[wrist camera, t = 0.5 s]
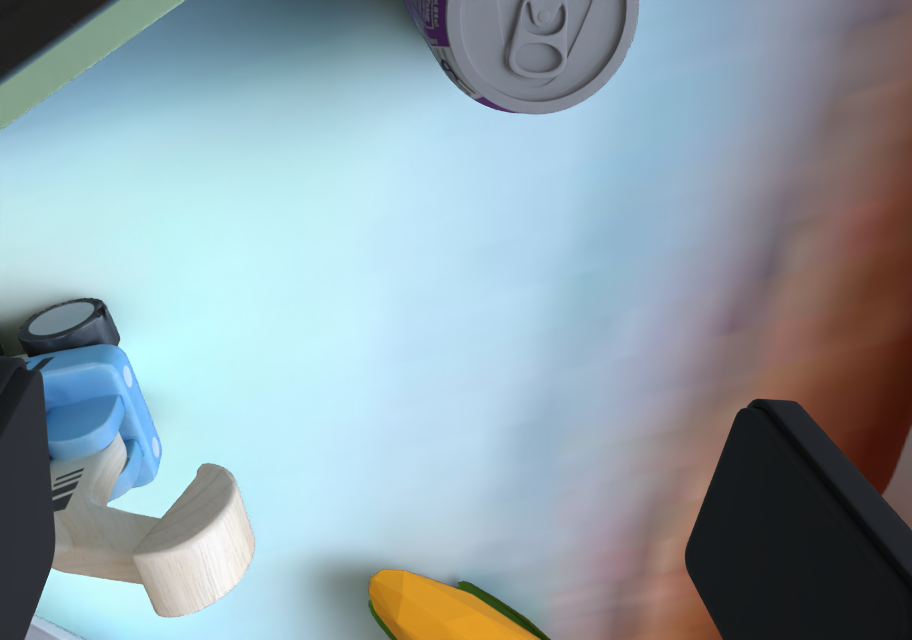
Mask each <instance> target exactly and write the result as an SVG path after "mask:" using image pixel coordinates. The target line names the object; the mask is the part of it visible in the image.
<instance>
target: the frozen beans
mask: <svg viewBox="0 0 912 640" xmlns="http://www.w3.org/2000/svg"><path fill="white" fill-rule="evenodd" d="M25 640H85V639H83V638H82V637H80V636H78V635H76V634H74V633H72V632H70V631H68V630H66V629H64V628H62V627H59V626H57V625H55V624H53V623H51V622H49V621H46V620H43V619H42V618H40V617H38V616H36V615H34V616H33V618H32V621H31V624H30V626H29V629H28V632H27V634H26V637H25Z"/></svg>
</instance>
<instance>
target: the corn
mask: <svg viewBox="0 0 912 640" xmlns="http://www.w3.org/2000/svg"><path fill="white" fill-rule="evenodd" d="M368 592H369V595H370V598H371V599H370V600H369V608H370V611H371V613H372V615H373V616H374V618H375V619H376V621H377V622H378V624H379V625H380V627H381V628H382V629H383V630H384V631H385V632H386V634H387V635H388V636H389V637H390V638H391V639H392V640H550V639H549V638H548V637H547V636H546V635H545V634H544V633H543V632H541V631H540V630H539V629H538V628H537V627H536V626H535V625H534V624H532V623H531V622H530V621H529V620H528V619H527V618H525V617H524V616H522V615H521V614H519V613H518V612H516V611H515V610H513V609H512V608H510V607H509V606H507V605H506V604H504V603H503V602H501V601H500V600H498V599H497V598H495V597H493V596H492V595H490V594H488V593H487V592H485V591H483V590H481V589H480V588H478V587H476V586H475V585H473V584H471V583H468V582H465V581H462V582H459V583H458V589H457V588H454V587H451V586H448V585H446V584H443V583H440V582H438V581H435V580H432V579H429V578H426V577H423V576H420V575H416V574H413V573H410V572H407V571H404V570H381V571H379V572H378V573H376V574H374V575H373V576H371V577H370V582H369V589H368Z"/></svg>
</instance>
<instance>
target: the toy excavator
mask: <svg viewBox="0 0 912 640" xmlns="http://www.w3.org/2000/svg"><path fill="white" fill-rule="evenodd" d="M20 329H21V330H20V332H19V334H18V339H19V341H20V342H21V344H22V346H23V348H24V350H25V352H26V354H22V355H17V356H12V357H21V358H23V359H24V360H25V363H26V365H27V370H39V371H40V372H41V373H42V376H43V383H44V396H45V409H46V421H47V434H48V447H49V459H50V472H51V485H52V497H53V510H54V523H55V536H56V543H55V553H54V558H53V563H52V566H51V568H53V569H55V570H58V571H61V572H64V573H71V574H78V575H85V576H91V577H97V578H103V579H110V580H116V581H123V582H130V583H137V584H143V585H144V587H145V589H146V592H147V594H148V596H149V598H150V600H151V603H152V605H153V608H154V610H155V612H156V614H157V615H159V616H161V617H179V616H184V615H189V614H191V613H194V612H197V611H200V610H202V609H203V608H205V607H207V606H209V605H211V604H213V603H215V602H216V601H218V600H219V599H220V598H222V597H223V596H225V595H226V594H227V593H228V592H229V591H230V590H231V589H232V588H234V587H235V586H236V584H237V583H238V582H239V581H240V580H241V579H242V577H243V576H244V574H245V572H246V571H247V569H248V567H249V565H250V563H251V560H252V558H253V554H254V550H255V537H254V533H253V530H252V527H251V524H250V521H249V518H248V515H247V512H246V509H245V506H244V503H243V500H242V497H241V494H240V491H239V488H238V485H237V482H236V480H235V478H234V476H233V475H232V473H231V472H229V471H228V470H227V469H225V468H224V467H221V466H219V465H216V464H210V463H207V464H202V465H201V466H200V467H199V469H198V470H197V476H196V478H195V479H194V480H193V481H192V483H191V484H190V485H189V486H188V488H187V489H186V490H185V491H184V492H183V494H182V495H181V496H180V497H179V498H178V500H177V501H176V502H175V503H174V504H173V505H172V507H171V508H170V509H169V510H168V511H167V512H166V514H165V515H164V516H163V517H162V518H161V519H159V518H154V517H150V516H145V515H139V514H134V513H129V512H125V511H122V510H118V509H115V508H110V507H106V506H107V503H108V502H110V501H112V500H114V499H116V498H119V497H120V496H122V495H123V494H125V493H126V492H127V491H129V490H130V489H131V488H136V487H140V486H144V485H147V484H148V483H150V482H152V481H153V480H154V478H155V477H156V475H157V471H158V467H159V463H160V459H161V454H162V447H161V443H160V440H159V437H158V434H157V432H156V429H155V427H154V424H153V421H152V419H151V416H150V414H149V411H148V408H147V406H146V403H145V400H144V398H143V395H142V393H141V390H140V387H139V385H138V382H137V380H136V377H135V374H134V372H133V369H132V367H131V364H130V362H129V360H128V357H127V355H126V353H125V352H124V351H123V350H122V349H120V348H119V347H118V343H119V341H120V336H119V333H118V331H117V329H116V327H115V324H114V322H113V319H112V317H111V315H110V313H109V311H108V309H107V306H106V305H105V304H104V303H103V301H101V300H99V299H93V298H89V299H88V298H84V299H82V298H81V299H78V300H72V301H68V302H66V303H62V305H54V306H52V307H50V308H49V309H46V310H45V311H42V312H40V313H39V314H35V315H33V316H32V317H31V318H30V319H29V320H27V321H26V323H24V324H23V325H22V326H21V328H20ZM0 356H4V351H3V349H2V347H1V345H0Z"/></svg>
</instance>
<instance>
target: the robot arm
mask: <svg viewBox="0 0 912 640" xmlns="http://www.w3.org/2000/svg"><path fill="white" fill-rule="evenodd" d="M55 543H56V536H55V523H54V510H53V497H52V485H51V472H50V459H49V447H48V434H47V421H46V409H45V396H44V383H43V376H42V373H41V372H40V371H39V370H27V365H26V363H25V360H24V359H23V358H21V357H4V356H0V640H25V637H26V634H27V632H28V629H29V626H30V624H31V621H32V618H33V616H34V613H35V610H36V607H37V605H38V602H39V599H40V597H41V594H42V591H43V588H44V586H45V583H46V580H47V578H48V575H49V572H50V570H51V566H52V563H53V558H54V553H55ZM685 563H686V568H687V571H688V573H689V576H690V577H691V579H692V581H693V583H694V585H695V587H696V589H697V591H698V593H699V595H700V597H701V598H702V600H703V602H704V604H705V606H706V608H707V610H708V612H709V614H710V616H711V618H712V619H713V621H714V623H715V625H716V627H717V629H718V631H719V633H720V635H721V637H722V639H723V640H912V530H911V529H910V528H909V527H908V525H907V524H906V523H905V522H904V521H903V520H902V519H901V518H900V517H899V516H898V514H897V513H896V512H895V511H894V510H893V509H892V507H891V506H890V505H889V504H888V503H887V502H886V501H885V500H884V499H883V497H882V496H881V495H880V494H879V493H878V492H877V491H876V490H875V488H874V487H873V486H872V485H871V484H870V483H869V482H868V481H867V479H866V478H865V477H864V476H863V475H862V474H861V473H860V472H859V470H858V469H857V468H856V467H855V466H854V465H853V464H852V463H851V461H850V460H849V459H848V458H847V457H846V456H845V455H844V454H843V452H842V451H841V450H840V449H839V448H838V447H837V446H836V445H835V443H834V442H833V441H832V440H831V439H830V438H829V437H828V436H827V434H826V433H825V432H824V431H823V430H822V429H821V428H820V427H819V425H818V424H817V423H816V422H815V421H814V420H813V419H812V418H811V417H810V415H809V414H808V413H807V412H806V411H805V410H804V409H803V408H802V406H801V405H799V404H798V403H797V402H794V401H787V400H769V399H756V400H753V401H752V402H751V403H750V404H749V405H748V406H747V408H743V409H741V410H740V411H739V412H738V413H737V415H736V417H735V419H734V422H733V425H732V427H731V430H730V433H729V435H728V438H727V440H726V443H725V446H724V448H723V451H722V454H721V456H720V459H719V462H718V464H717V467H716V470H715V472H714V475H713V477H712V480H711V483H710V485H709V488H708V491H707V493H706V496H705V499H704V501H703V504H702V507H701V509H700V512H699V514H698V517H697V520H696V522H695V525H694V528H693V530H692V533H691V536H690V538H689V541H688V543H687V547H686V551H685Z"/></svg>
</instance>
